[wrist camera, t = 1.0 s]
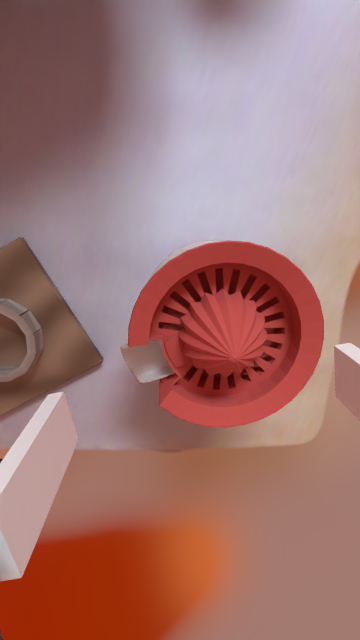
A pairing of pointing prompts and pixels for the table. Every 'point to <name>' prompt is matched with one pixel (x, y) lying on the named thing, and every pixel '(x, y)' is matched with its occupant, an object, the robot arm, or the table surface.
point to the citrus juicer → (225, 332)
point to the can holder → (36, 330)
